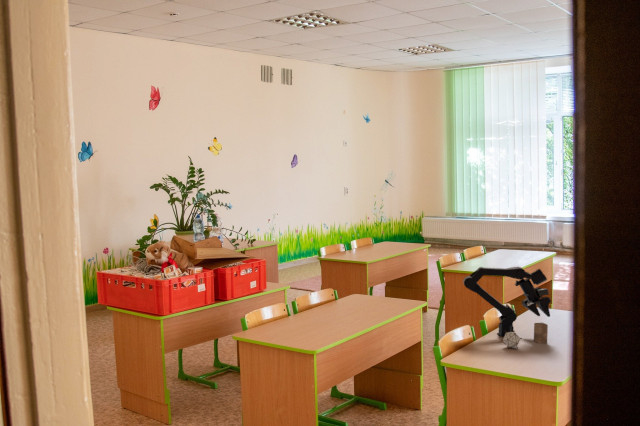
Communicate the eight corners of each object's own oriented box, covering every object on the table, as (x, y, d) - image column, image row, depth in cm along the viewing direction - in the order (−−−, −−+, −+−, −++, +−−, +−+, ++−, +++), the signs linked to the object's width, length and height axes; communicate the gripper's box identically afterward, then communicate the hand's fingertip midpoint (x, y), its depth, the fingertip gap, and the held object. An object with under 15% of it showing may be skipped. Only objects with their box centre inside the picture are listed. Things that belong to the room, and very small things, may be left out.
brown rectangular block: (538, 343, 287) (539, 325, 287) (533, 340, 292) (534, 322, 291) (547, 342, 288) (547, 324, 288) (541, 340, 293) (542, 322, 292)
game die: (514, 356, 278) (523, 343, 272) (497, 349, 279) (505, 335, 273) (516, 343, 285) (525, 330, 278) (499, 336, 286) (507, 322, 280)
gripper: (551, 281, 291) (567, 308, 291) (531, 282, 309) (546, 307, 309) (533, 292, 289) (549, 320, 288) (514, 292, 307) (529, 318, 306)
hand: (544, 316), depth 298 cm, fingers open, 9 cm apart
